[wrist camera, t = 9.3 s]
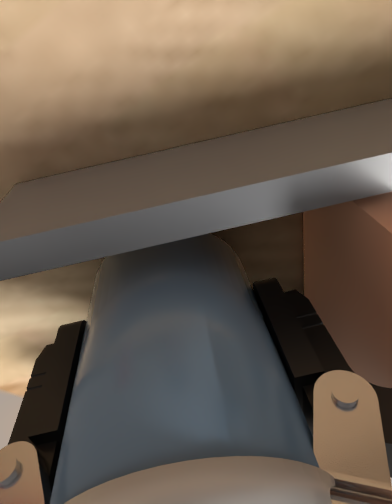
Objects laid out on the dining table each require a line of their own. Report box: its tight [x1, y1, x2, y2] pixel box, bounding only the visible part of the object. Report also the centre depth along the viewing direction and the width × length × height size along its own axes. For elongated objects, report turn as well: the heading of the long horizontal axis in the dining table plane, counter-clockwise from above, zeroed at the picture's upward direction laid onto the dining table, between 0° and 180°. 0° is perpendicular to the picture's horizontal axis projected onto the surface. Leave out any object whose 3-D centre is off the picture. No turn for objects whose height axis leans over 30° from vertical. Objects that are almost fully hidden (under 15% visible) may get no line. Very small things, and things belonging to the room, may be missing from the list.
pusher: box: [303, 192, 392, 388], centre depth 11 cm, size 7×1×6 cm, turn 11°
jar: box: [50, 233, 335, 504], centre depth 9 cm, size 6×6×8 cm
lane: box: [0, 98, 392, 281], centre depth 12 cm, size 10×22×4 cm, turn 101°
